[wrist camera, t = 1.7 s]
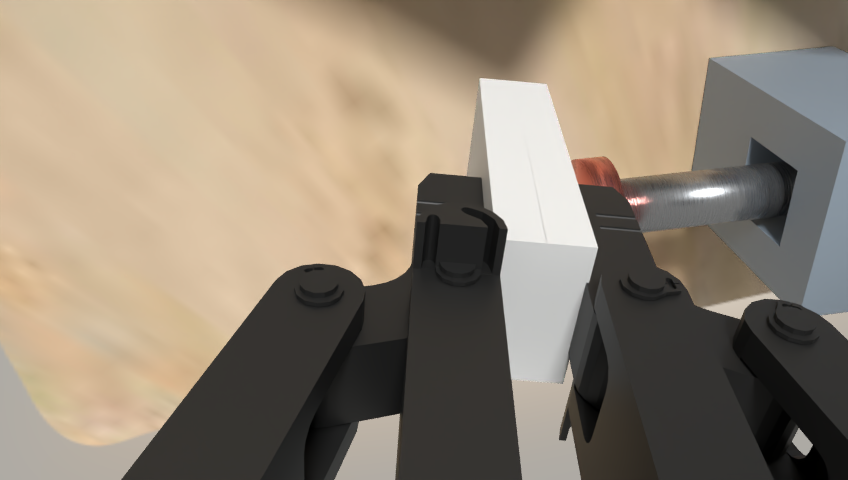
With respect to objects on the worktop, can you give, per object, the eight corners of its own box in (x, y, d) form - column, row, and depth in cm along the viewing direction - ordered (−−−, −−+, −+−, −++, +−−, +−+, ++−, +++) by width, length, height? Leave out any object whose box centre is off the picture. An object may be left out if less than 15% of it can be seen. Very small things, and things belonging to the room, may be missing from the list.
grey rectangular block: (686, 203, 49) (798, 318, 38) (709, 58, 44) (846, 141, 33) (797, 190, 50) (939, 299, 39) (833, 46, 45) (1007, 123, 33)
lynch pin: (560, 231, 42) (593, 284, 38) (565, 142, 39) (601, 188, 35) (809, 202, 44) (870, 249, 39) (831, 115, 41) (900, 155, 36)
